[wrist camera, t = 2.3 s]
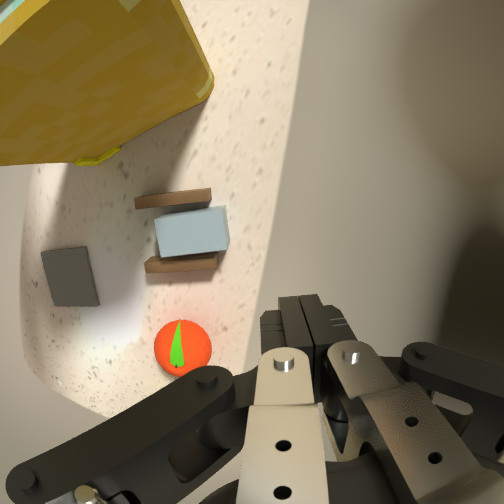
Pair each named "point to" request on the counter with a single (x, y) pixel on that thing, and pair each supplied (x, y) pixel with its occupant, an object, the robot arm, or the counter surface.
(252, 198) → the counter surface
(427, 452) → the robot arm
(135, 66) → the book
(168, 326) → the clementine
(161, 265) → the slot
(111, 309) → the counter surface
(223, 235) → the block
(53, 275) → the mat
